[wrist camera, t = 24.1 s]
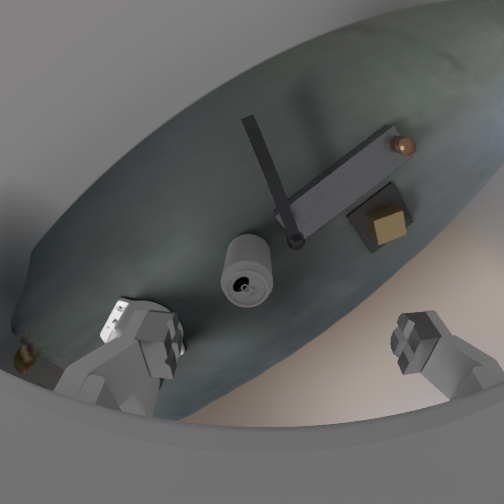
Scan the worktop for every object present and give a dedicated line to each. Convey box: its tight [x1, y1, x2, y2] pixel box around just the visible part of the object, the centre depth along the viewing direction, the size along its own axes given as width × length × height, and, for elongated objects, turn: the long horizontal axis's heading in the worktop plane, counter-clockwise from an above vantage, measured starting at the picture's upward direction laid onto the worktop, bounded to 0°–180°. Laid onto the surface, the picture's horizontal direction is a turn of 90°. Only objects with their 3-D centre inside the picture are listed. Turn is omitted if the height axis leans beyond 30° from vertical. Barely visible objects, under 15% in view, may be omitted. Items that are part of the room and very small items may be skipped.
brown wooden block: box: [365, 203, 407, 245], centre depth 44 cm, size 6×4×4 cm
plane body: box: [274, 125, 416, 239], centre depth 40 cm, size 24×6×7 cm, turn 131°
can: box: [221, 234, 273, 308], centre depth 44 cm, size 8×8×12 cm
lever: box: [241, 115, 305, 250], centre depth 36 cm, size 19×2×1 cm, turn 22°
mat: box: [347, 182, 413, 253], centre depth 46 cm, size 10×9×1 cm
